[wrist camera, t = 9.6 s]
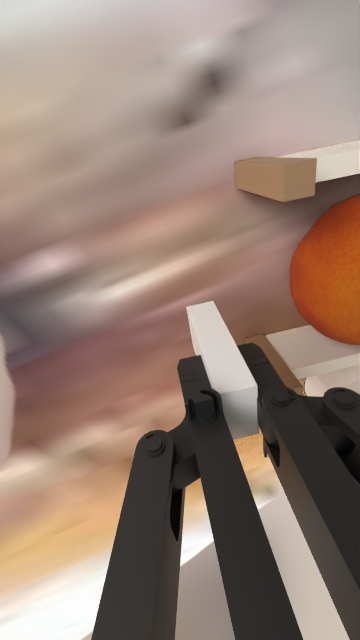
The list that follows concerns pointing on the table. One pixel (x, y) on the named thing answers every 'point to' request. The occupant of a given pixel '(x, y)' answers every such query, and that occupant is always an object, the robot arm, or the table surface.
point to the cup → (333, 381)
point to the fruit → (330, 273)
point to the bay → (285, 185)
